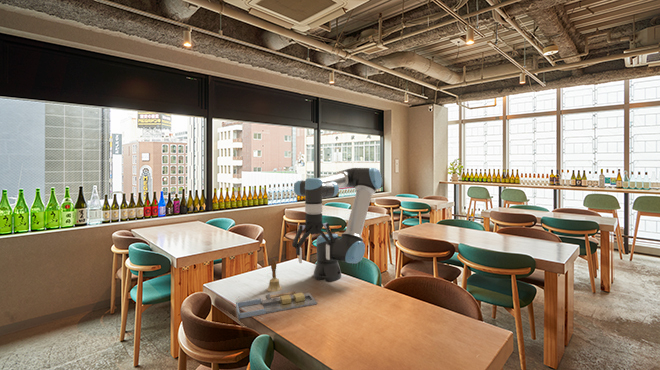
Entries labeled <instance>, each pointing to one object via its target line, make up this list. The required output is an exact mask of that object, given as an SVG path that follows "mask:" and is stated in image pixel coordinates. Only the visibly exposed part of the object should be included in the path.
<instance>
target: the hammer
mask: <svg viewBox="0 0 660 370" xmlns="http://www.w3.org/2000/svg"><path fill="white" fill-rule="evenodd" d="M296 293H297V291H290V292H284V293H282V292H281V293H278V294H272V295H271V294H270V293H269V294H265V296H266V298H267V299H266V300H269V299H274V298H280V296H284V295H290V296H292V295H293V294H296Z"/></svg>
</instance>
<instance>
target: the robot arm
mask: <svg viewBox="0 0 660 370" xmlns="http://www.w3.org/2000/svg"><path fill="white" fill-rule="evenodd" d="M382 180H383V178H382V173H381V172H380V169H378V168H376V167H351V168H347V169H344V170H338V171H337V172H336V173H334V174H330V175H325V176H320V177H308V178H305V180H297V181H295V183H294V185H293V191H294V194H295V195H297V196H300V197H305V198H304V199H305V200H304V204H305V205H304V206H305V207H304V209H305V211H304V212H305V217H304V219H305V223H304V224H298V225H297V231H296V234H295V236H294V239H293V241H292V243H291V246H292V247H293V248H295V251H296V253H295V254H296V255H297V256H298V263H299V264H302V263H303V251H302V250H303V248H302V245H304V243H305V241H306V239H308V237H309V236H310V235H315V234H316V235H318V234H319V235H318V236H317V238H316V264H315V267H314V270H313V278H314V279H315V280H317V281H325V282H335V281H338V280H339V279H341V278H342V271H341V270H342V269H341V267H340V264H339V261H340V262H345V263H348V264H359V262H361V261H362V259H363V258H364V256H365V253H366V244H365V243H364V238H363V237H362V233H363V230H364V226H365V223H366V222H365V221H366V219H367V214H368V212H369V211H368V210H369V206H370V203H371V199H372V196H373V195H375V194H376V190H378V189H381V187H382V184H383V181H382ZM340 188H341V189H342V188H354V190H355V191H356V192H355V196H354V200H353V203H352V206H351V211H350V213H349V218H348V220H347V221H348V222H347V225H346V227H345V228H346V229H345V231H344V232H342V233H341V235H340V237H339V235H338V234H337V233H332V230H331V229H330V224H329V222H325V223H323V213H322V212H323V199H326V198H333V197H336V196H337V195H338V193H339V191H340V190H339V189H340ZM323 228H324V229H325V231H326V234H325V232H324V231H323V230H322V229H323ZM304 230H305V231H304ZM303 231H304V233H303V234H302V232H303ZM301 235H302V236H301Z"/></svg>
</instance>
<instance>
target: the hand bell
mask: <svg viewBox="0 0 660 370" xmlns="http://www.w3.org/2000/svg"><path fill="white" fill-rule="evenodd" d="M270 268H271V271H272V273H271V275H272V278H271V279H270V280H269V283H268V286H267V288H266V290H267V291H269V292H279V291H281V290H282V289H283V288H282V286H281V284H280V280H279V278H277V275H276V273H277V271H276V269H277V261H276V259H275V258H272V259H271V263H270Z"/></svg>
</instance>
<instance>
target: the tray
mask: <svg viewBox="0 0 660 370" xmlns="http://www.w3.org/2000/svg"><path fill="white" fill-rule="evenodd" d="M261 301H262V298H257V299H250V300H244V301H243V300H242V301H238V302H235V310H236V315H237V319H238V322H240V320H241V319H244V318H245V319H246V318H251V317H255V316H256V317H257V316H259V315H265V314H266V309H264V308H261V309H257V310H250V311H245V312H240V308H241V307H242V308H243V307H248V306H253V305H259V304H260V305H261V304H262V302H261Z"/></svg>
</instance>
